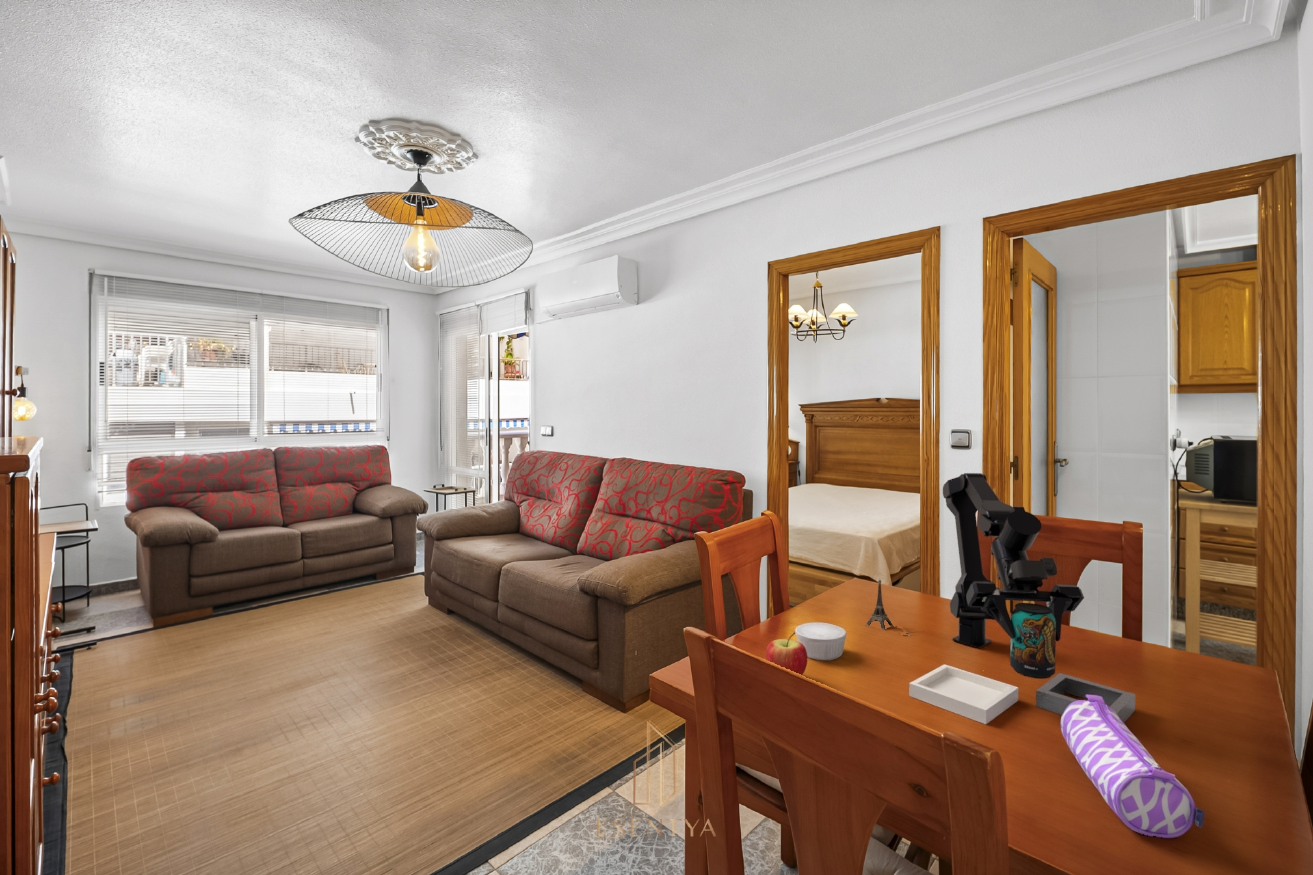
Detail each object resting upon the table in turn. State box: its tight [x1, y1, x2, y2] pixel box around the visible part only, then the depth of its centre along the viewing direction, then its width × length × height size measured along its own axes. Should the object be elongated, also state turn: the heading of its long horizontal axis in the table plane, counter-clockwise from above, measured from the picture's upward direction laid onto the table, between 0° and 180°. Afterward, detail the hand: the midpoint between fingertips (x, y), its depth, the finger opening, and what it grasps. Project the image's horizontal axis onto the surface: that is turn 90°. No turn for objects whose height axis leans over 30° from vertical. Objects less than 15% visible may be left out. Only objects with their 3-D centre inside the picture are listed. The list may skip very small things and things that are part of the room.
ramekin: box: [794, 621, 847, 661], centre depth 138 cm, size 11×11×5 cm
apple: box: [765, 631, 808, 676], centre depth 124 cm, size 8×8×10 cm
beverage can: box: [1009, 602, 1057, 680], centre depth 111 cm, size 7×7×12 cm
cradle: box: [908, 663, 1019, 725], centre depth 115 cm, size 14×14×2 cm
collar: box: [1035, 672, 1136, 724], centre depth 111 cm, size 12×12×3 cm
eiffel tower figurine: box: [865, 579, 912, 637], centre depth 156 cm, size 15×10×13 cm
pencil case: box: [1060, 695, 1206, 839], centre depth 86 cm, size 22×9×10 cm, turn 166°
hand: (1035, 638), depth 110 cm, fingers closed on beverage can, 7 cm apart
